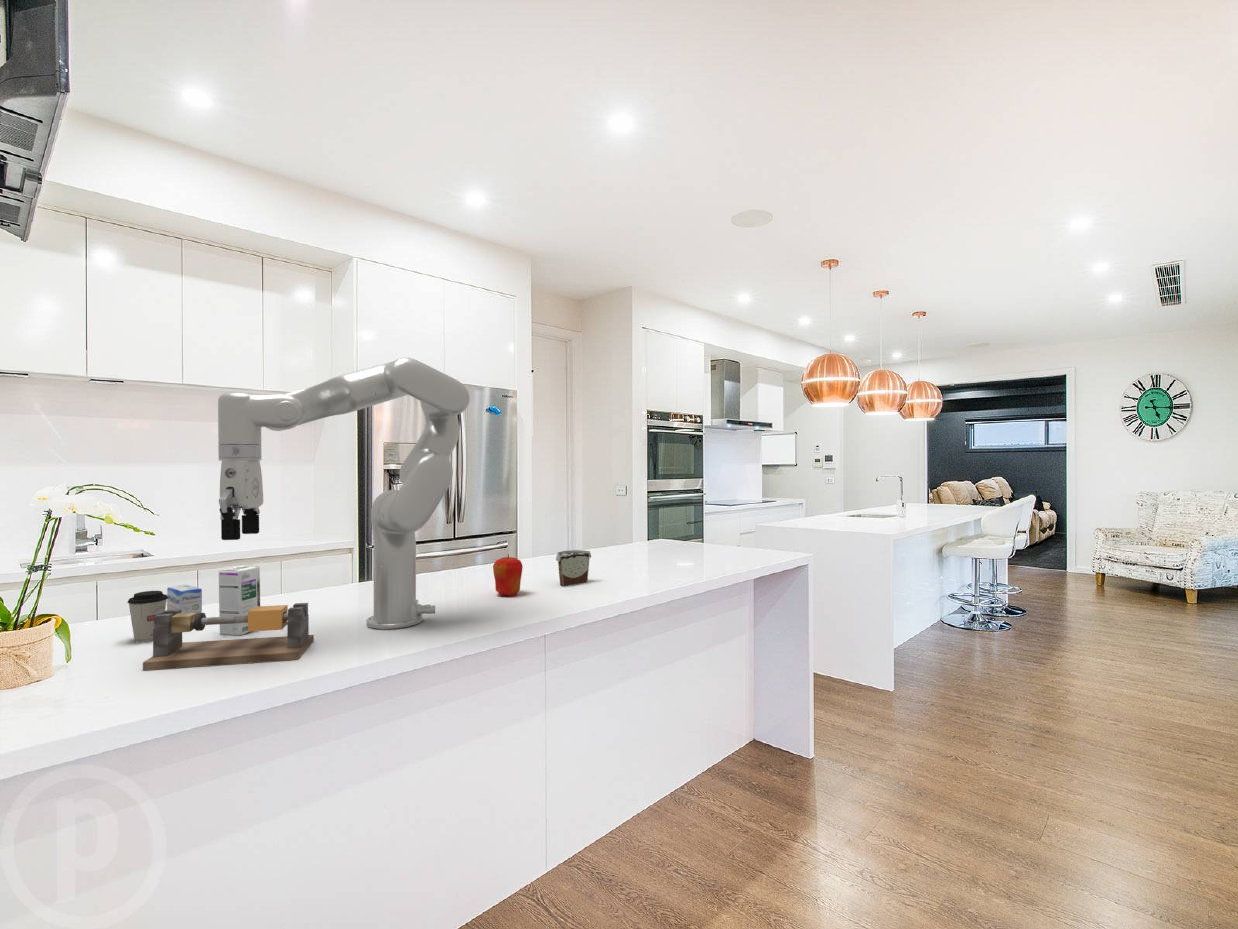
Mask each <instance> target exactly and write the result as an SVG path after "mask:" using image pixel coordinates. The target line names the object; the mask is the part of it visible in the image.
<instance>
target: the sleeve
mask: <svg viewBox="0 0 1238 929" xmlns="http://www.w3.org/2000/svg"><path fill="white" fill-rule="evenodd" d="M288 607H289V605H288V604H281V605H279V604H278V605H277V604H276V605H260V606H256V607H254V608H252V609H251V610H249V611H248V633H251V632H266V631H268V632H269V631H281V630H283V629H284V628H285V627H287V622H288V621H283V614H287V613H288V609H289V608H288Z"/></svg>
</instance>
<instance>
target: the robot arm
mask: <svg viewBox="0 0 1238 929" xmlns="http://www.w3.org/2000/svg"><path fill="white" fill-rule="evenodd" d="M406 396H410V397H412V398H413V399H415V400H417V401H420V402H419V403H420V407H421V410H422V412H423V415H424V419H425V424H424V429H423V431H422V433H421V435H420V437H419V438H418V440H417V441H416V443H415V444H414V445H413V448H411V450H410V452H409V454H407V456H406V458H405V459H404V461H403V462H402V464H401V466H400V469H399V479H400V481H401V483H402V484H401V486H400V488H399V489H389V490H385V491H383V492H381V493H380V494H379V495H378V496H377V497H376V498H375V499H374V501H373V502H372V505H371V509H370V510H371V511H370V520H371V528H372V536H373V538H372V540H373V615H371V616H369V617H368V618H367V619H366V626H367V627H369V628H373V629H376V630H377V629H379V630H390V629H391V630H394V629H401V628H402V629H403V628H408V627H412V626H414V625H418V624H420V623H421V622H423V619H424V617H423V616H424V615H423V614H425V615H426V614H427V615H430V614H431V615H432V614H435V615H436V605H435V604H434V605H433V604H432V605H431V604H421V603H419V599H417V541H416V540H417V539H416V533H415V532H418V531H419V530H421V529H422V528H423V527H424V526H425V525H426V524H427V523H428V522H429V520H430V519H431V517H432V515H433V514H434V512H435V511H436V509H437V508H438V506H439V504H440V503H441V501H442V499H443V497H444V496H445V494H446V493H447V491H448V489H449V487H450V485H451V483H452V480H453V475H454V470H453V465H452V462H451V461H450V459H449V458H450V457H451V455H452V453H453V451H454V449H455V447H456V445H457V443H458V440H459V436H460V425H459V419H458V415H460V414H462V413H463V412H465V410H467V409H468V406H469V404H470V399H471V398H470V393H469V389H467V387H466V386H465V385H464V384H463V383H462V382H461V381H460V380H458V379H456V378H454V377H452V376H450V375H447V374H446V373H444V372H442V371H440V370H438V369H436V368H434V367H432V366H430V365H428V364H425V363H424V362H422V361H419V360H417V359H415V358H411V357H400V358H397V359H395V360H393V361H392V360H391V361H389V362H386V363H381V364H379V365H375V366H370V367H368V368H364V369H360V370H356V371H352V372H348V373H344V374H341V375H338V376H335V377H332V378H330V379H328V380H326V381H325V380H324V381H323V382H321V383H318V384H316V385H312V386H310V387H305V388H303V389H299V390H295V391H291V392H289V393H274V394H253V393H245V392H244V393H242V392H226V393H222V394H221V395H220V396H219V397H218V401H217V422H218V424H217V430H218V432H217V433H218V437H217V439H218V441H217V442H218V445H217V446H218V448H217V449H218V451H217V452H218V453H217V454H218V462H219V461H221V462H220V463H221V465H220V476H219V477H220V478H219V498H218V504H219V513H220V516H219V519H220V520H221V521H220V525H221V526H220V528H221V530H220V532H221V537H220V538H221V540H222V541H238V540H240V539H241V533H242V535H254V534H255V535H257V534H259V533H260V511H261V510H260V508H259V507H261V506H262V505H263V504H264V489H263V488H264V487H263V486H264V484H263V474H262V473H263V472H262V467H261V466H262V465H261V462H260V461H262V460H263V459H262V428H266V429H267V430H271V431H275V432H280V431H287V430H292V429H294V428H296V427H297V426H301V425H304V424H306V423H307V424H308V423H311V422H314V421H318V420H321V419H325V418H328V417H333V416H340V415H345V414H350V413H353V412H357V411H361V410H363V409H367V408H369V407H372V406H376V405H380V404H383V403H386V402H389V401H392V400H396V399H399V398H402V397H406ZM241 511H242V515H241V519H239V516H240V513H241Z"/></svg>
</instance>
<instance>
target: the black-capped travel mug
mask: <svg viewBox="0 0 1238 929" xmlns="http://www.w3.org/2000/svg"><path fill="white" fill-rule="evenodd" d="M167 599H168V596H167V594H165V593H164V592H163V591H162V590H148V591H147V590H145V591H139V592H135V593H134V594H133V596H132V597H130V598H128V600H127V604H128V608H129V612H130V613H129V614H130V621H131V628H132V632H133V640H134V643H149V642H153V629H154V616H156V615H158V614H163V612H164V611H166V609H167Z"/></svg>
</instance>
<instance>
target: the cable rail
mask: <svg viewBox="0 0 1238 929" xmlns="http://www.w3.org/2000/svg"><path fill="white" fill-rule="evenodd" d="M309 616H310V615H309V602H299V603H297V602H296V603H294V604H293V605H292V606H291V607H289V608H288V613H287V614H283V621H288V622H287V625H286V628H287V633H286V634H287V635H286V636H272V637H271V636H269V637H268V636H267V637H254V638H252V637H251V638H238V639H220V640H219V639H218V640H205V641H204V640H203V641H200V640H199V641H187V642H183V633H190V632H192V631H194V630H195V631H196V632H200V631H203V630H204V629H205V627H206V626H209V625H210V626H212V625H220V624H234V623H248V616H229V617H219V616H216V617H215V616H214V617H212V616H211V617H207V616H206V613H205V612H202V613H181V609H172V610H167V609H165V611H164V612H163V614H158V615H156V616H154V629H153V641H152V656H151V657H149V658H148V659H146V660H144V661H143V662H142V671H154V670H155V671H156V670H168V669H172V670H173V669H184V668H185V669H186V668H197V667H200V668H202V667H210V666H211V667H212V666H213V667H215V666H225V665H226V666H227V665H242V664H244V665H245V664H257V663H273V662H285V661H298V660H300V658H301V657H302V656H303V655H304V654H305V653H306V651H308V649H309V648H310V647H311V645H312V644H313V643H314V642H315V634H310V631H309V628H310V626H309V625H310V624H309V623H310V622H309Z"/></svg>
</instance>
